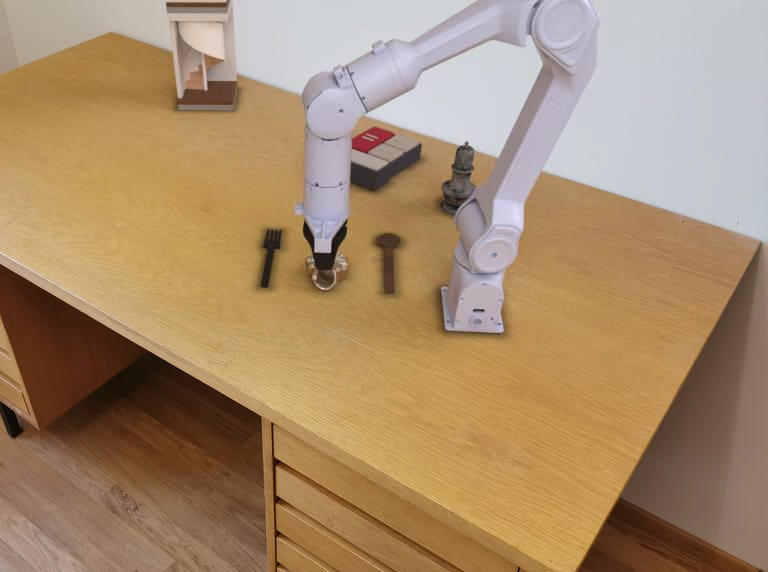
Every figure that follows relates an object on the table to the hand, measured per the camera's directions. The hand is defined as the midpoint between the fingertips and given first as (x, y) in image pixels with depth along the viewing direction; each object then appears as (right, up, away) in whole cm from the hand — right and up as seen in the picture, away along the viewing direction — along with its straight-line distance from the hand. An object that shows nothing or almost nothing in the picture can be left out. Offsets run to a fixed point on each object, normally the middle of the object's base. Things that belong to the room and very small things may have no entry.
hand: (324, 266), depth 100 cm
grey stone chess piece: (+24, +13, +26) cm, 38 cm away
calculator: (+11, +23, +36) cm, 44 cm away
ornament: (+1, 0, +12) cm, 12 cm away
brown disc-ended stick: (+11, +2, +14) cm, 18 cm away
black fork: (-8, +3, +16) cm, 18 cm away
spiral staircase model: (-22, +43, +58) cm, 75 cm away
